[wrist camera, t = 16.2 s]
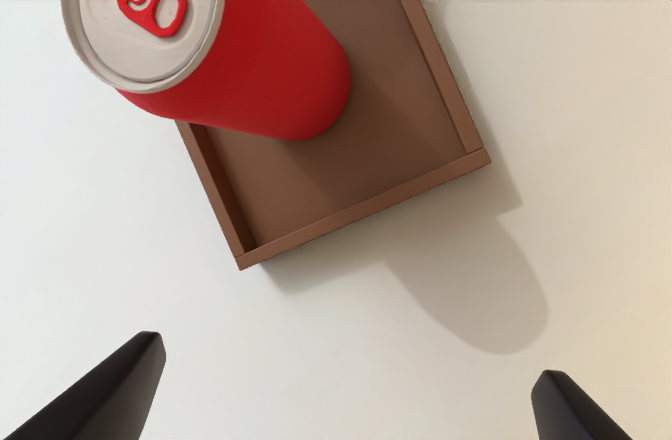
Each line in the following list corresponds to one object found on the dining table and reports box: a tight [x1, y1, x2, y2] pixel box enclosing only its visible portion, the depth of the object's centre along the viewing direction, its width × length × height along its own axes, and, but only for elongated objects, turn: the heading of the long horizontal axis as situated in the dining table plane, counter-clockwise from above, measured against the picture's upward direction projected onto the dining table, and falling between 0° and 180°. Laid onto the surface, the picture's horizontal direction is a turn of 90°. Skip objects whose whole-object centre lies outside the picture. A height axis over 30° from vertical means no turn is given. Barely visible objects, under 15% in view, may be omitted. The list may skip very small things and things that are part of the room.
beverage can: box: [61, 0, 350, 141], centre depth 16 cm, size 6×6×12 cm
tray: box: [175, 0, 491, 271], centre depth 21 cm, size 17×15×2 cm
